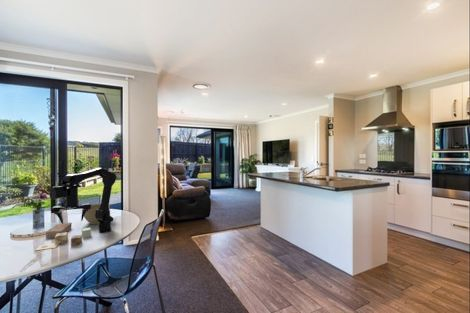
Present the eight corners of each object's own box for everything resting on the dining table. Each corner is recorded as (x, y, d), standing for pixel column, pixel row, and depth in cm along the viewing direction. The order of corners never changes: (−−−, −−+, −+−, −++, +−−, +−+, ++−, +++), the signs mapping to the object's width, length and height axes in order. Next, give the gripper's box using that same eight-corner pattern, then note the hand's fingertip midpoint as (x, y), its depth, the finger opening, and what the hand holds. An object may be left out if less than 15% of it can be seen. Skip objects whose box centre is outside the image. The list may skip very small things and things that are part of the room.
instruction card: (59, 243, 132) (59, 242, 132) (55, 247, 126) (55, 247, 126) (39, 245, 128) (39, 245, 128) (35, 250, 122) (35, 250, 122)
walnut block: (81, 242, 134) (81, 234, 134) (80, 245, 130) (80, 237, 130) (72, 243, 132) (72, 235, 132) (71, 246, 128) (70, 238, 128)
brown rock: (60, 237, 141) (60, 230, 141) (45, 238, 139) (44, 231, 139) (72, 228, 157) (71, 222, 157) (57, 229, 155) (57, 223, 155)
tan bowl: (115, 219, 178) (115, 204, 177) (99, 227, 160) (99, 210, 159) (93, 218, 180) (93, 203, 179) (75, 226, 162) (75, 209, 161)
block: (90, 234, 146) (90, 227, 146) (91, 236, 143) (90, 229, 143) (81, 236, 144) (81, 229, 144) (82, 238, 140) (82, 231, 140)
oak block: (67, 239, 138) (67, 232, 138) (65, 242, 134) (65, 235, 133) (57, 240, 136) (57, 233, 136) (55, 243, 131) (54, 236, 131)
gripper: (91, 192, 143) (91, 216, 144) (54, 195, 134) (54, 220, 135) (90, 195, 134) (90, 221, 134) (50, 198, 124) (51, 226, 125)
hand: (72, 222), depth 132 cm, fingers open, 9 cm apart
